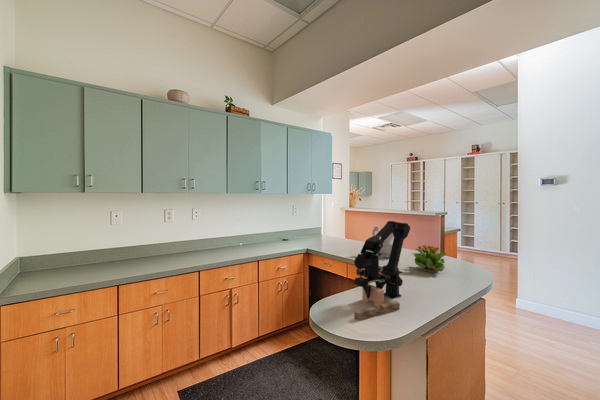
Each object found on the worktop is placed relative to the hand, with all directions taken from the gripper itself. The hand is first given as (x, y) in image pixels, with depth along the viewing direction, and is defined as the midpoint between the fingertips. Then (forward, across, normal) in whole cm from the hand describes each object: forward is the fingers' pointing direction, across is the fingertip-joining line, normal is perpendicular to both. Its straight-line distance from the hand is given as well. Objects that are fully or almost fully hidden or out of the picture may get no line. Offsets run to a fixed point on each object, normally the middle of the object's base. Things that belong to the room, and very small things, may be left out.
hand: (372, 297), depth 134 cm
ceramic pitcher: (+3, -78, -73) cm, 107 cm away
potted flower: (+3, -73, -25) cm, 77 cm away
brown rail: (+3, +6, +10) cm, 12 cm away
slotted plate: (+3, 0, 0) cm, 3 cm away
